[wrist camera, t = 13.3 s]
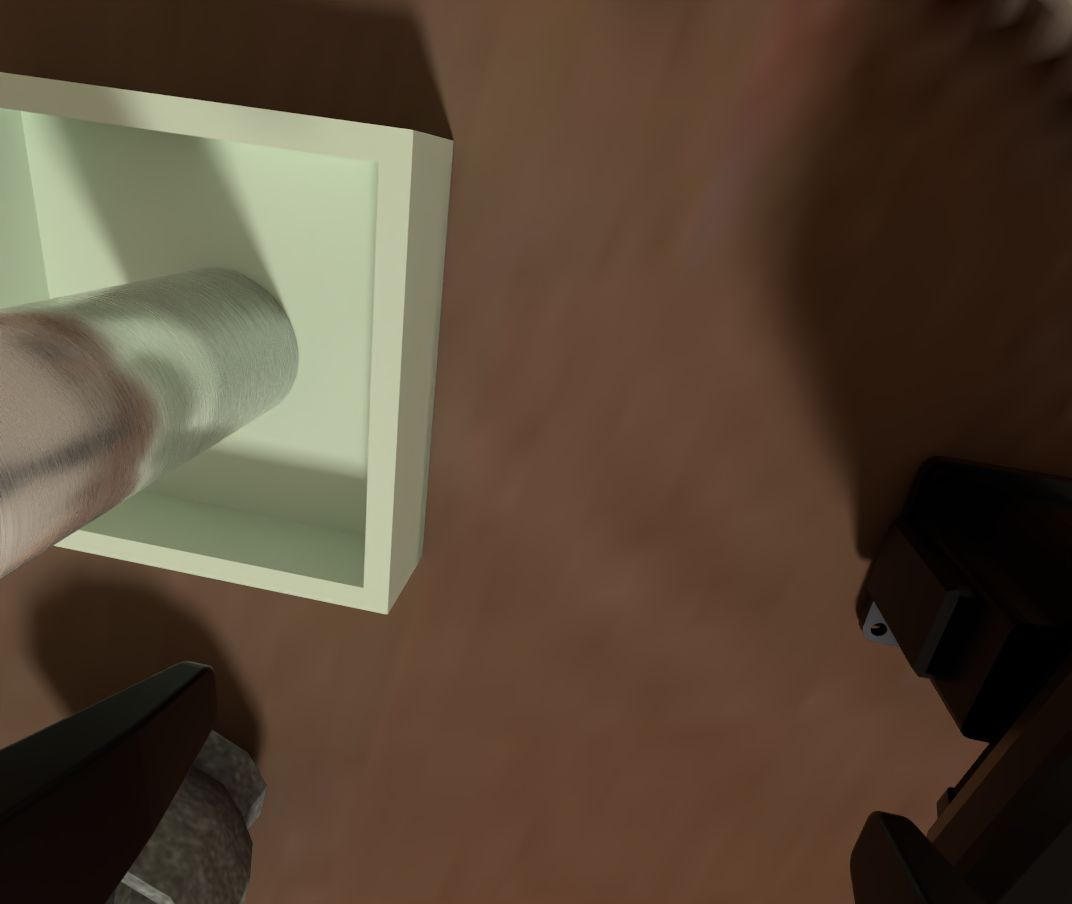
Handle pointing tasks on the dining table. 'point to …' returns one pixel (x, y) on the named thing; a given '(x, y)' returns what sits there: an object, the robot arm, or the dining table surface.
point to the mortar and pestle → (201, 834)
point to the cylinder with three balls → (127, 393)
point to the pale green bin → (293, 281)
